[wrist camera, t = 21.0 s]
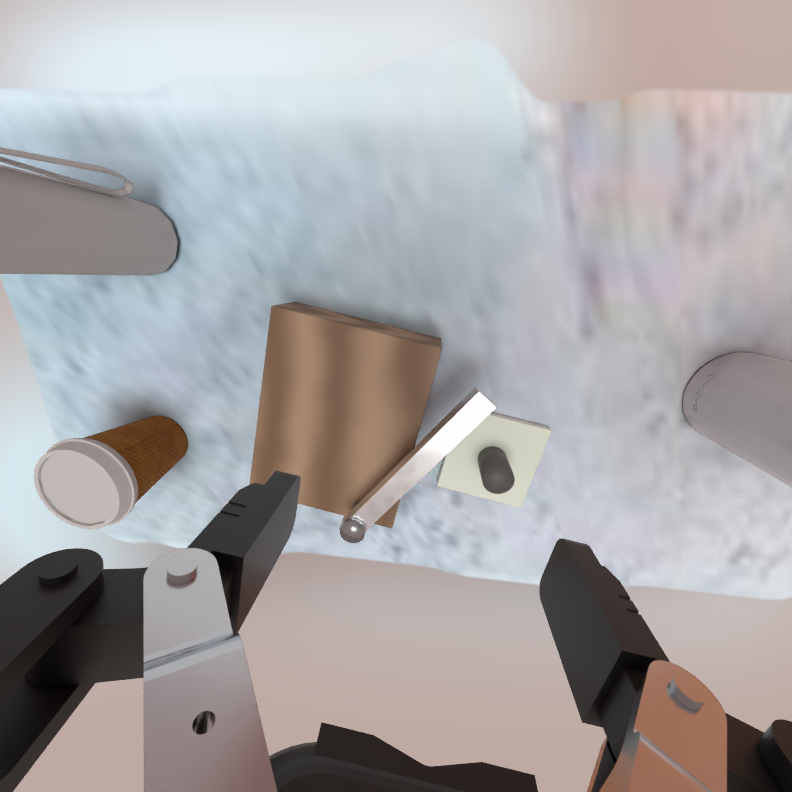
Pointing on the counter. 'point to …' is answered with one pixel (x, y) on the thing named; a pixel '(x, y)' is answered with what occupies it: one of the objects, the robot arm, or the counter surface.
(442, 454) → the latch bar
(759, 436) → the robot arm
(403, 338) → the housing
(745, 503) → the counter surface
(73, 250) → the water bottle
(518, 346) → the counter surface
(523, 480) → the lid
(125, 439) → the disposable coffee cup
